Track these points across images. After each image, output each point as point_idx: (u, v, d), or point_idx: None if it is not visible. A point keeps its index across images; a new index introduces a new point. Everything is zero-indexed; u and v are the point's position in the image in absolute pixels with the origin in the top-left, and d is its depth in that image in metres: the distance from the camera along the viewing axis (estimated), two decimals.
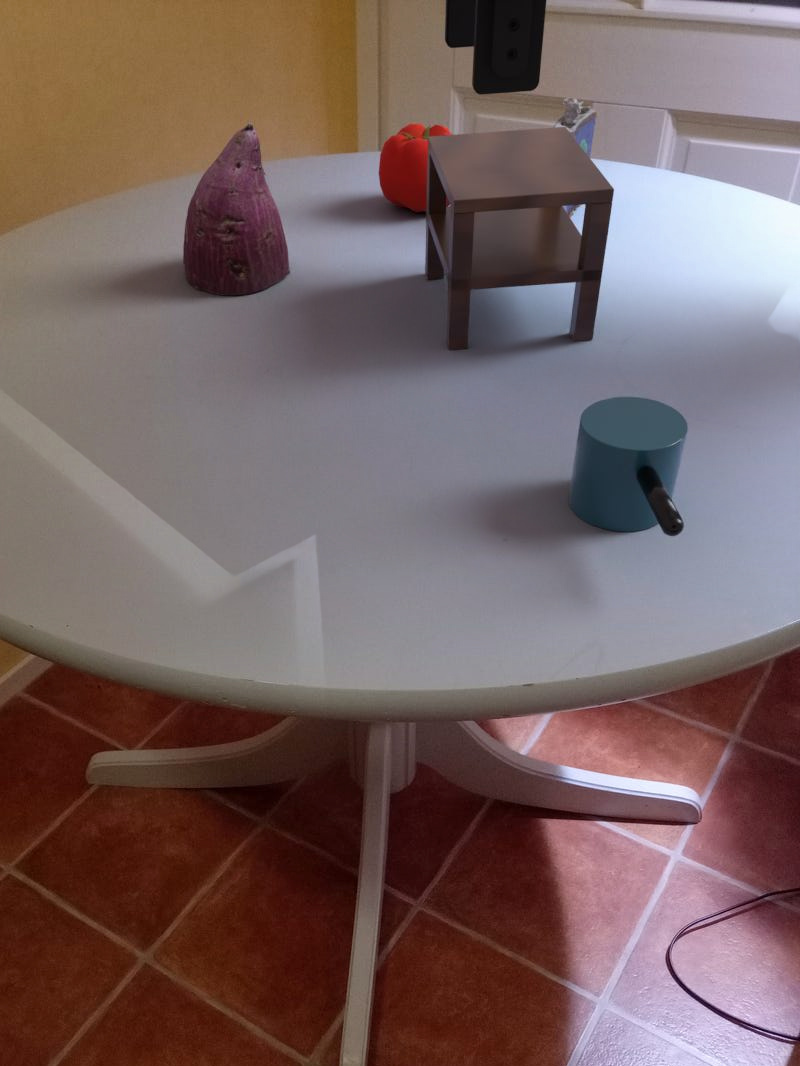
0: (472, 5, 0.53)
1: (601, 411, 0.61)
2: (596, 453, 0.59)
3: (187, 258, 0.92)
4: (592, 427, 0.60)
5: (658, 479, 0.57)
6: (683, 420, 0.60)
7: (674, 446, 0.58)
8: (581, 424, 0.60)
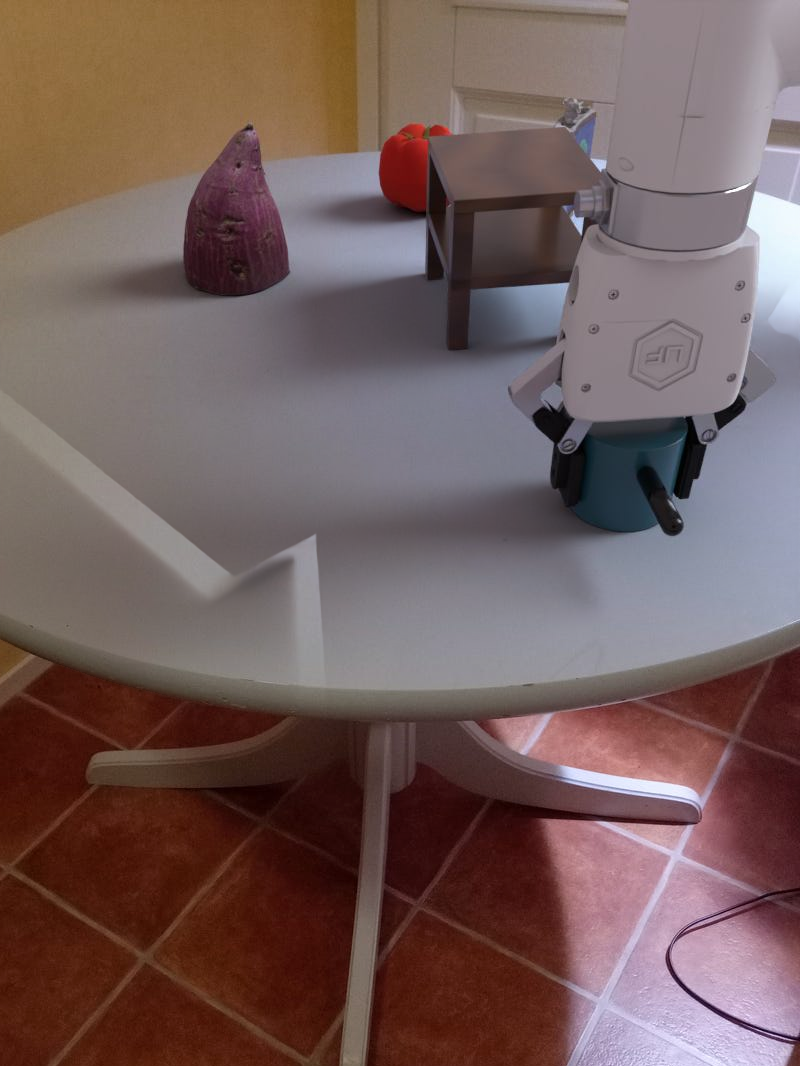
0: None
1: None
2: (596, 453, 0.59)
3: (187, 258, 0.92)
4: (592, 427, 0.60)
5: (658, 479, 0.57)
6: (683, 420, 0.60)
7: (674, 446, 0.58)
8: None
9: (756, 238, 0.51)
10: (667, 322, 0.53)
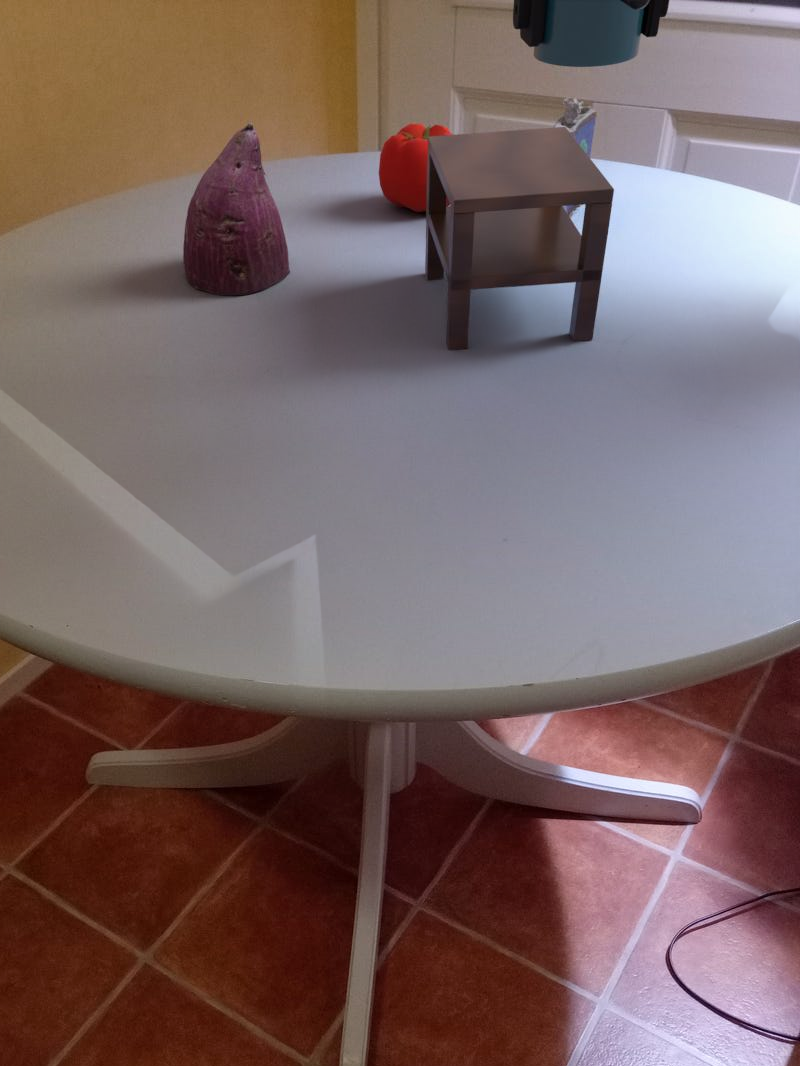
0: None
1: None
2: None
3: (187, 258, 0.92)
4: None
5: None
6: None
7: None
8: None
9: None
10: None
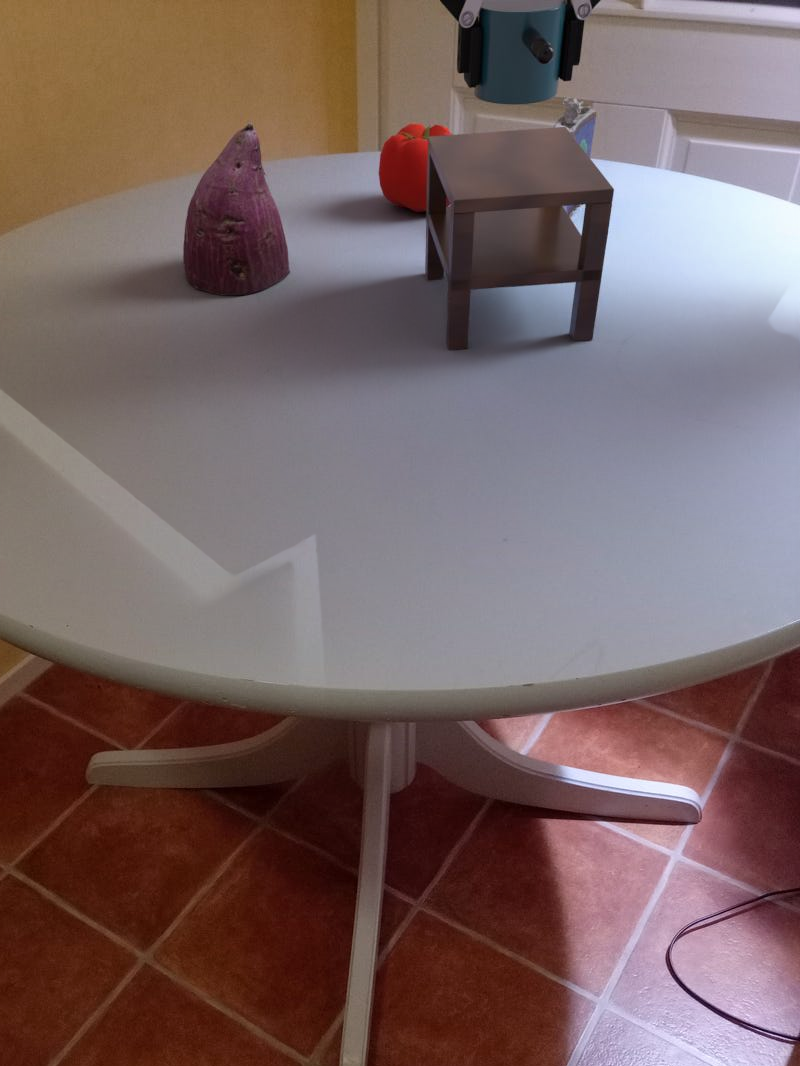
0: None
1: (497, 0, 0.73)
2: (490, 24, 0.71)
3: (187, 258, 0.92)
4: (487, 6, 0.72)
5: (538, 32, 0.69)
6: (563, 0, 0.72)
7: (553, 11, 0.70)
8: None
9: None
10: None
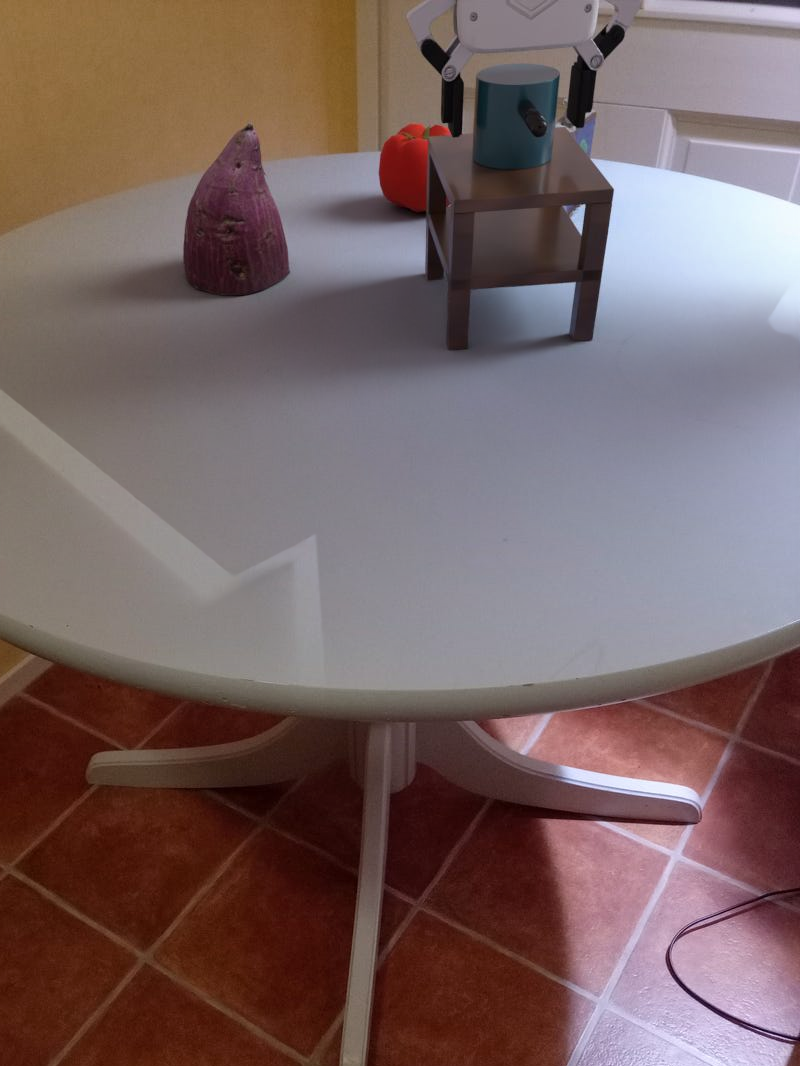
0: (572, 95, 0.77)
1: (493, 70, 0.76)
2: (487, 95, 0.75)
3: (187, 258, 0.92)
4: (484, 77, 0.75)
5: (532, 104, 0.72)
6: (557, 71, 0.75)
7: (547, 84, 0.73)
8: (476, 76, 0.75)
9: None
10: None
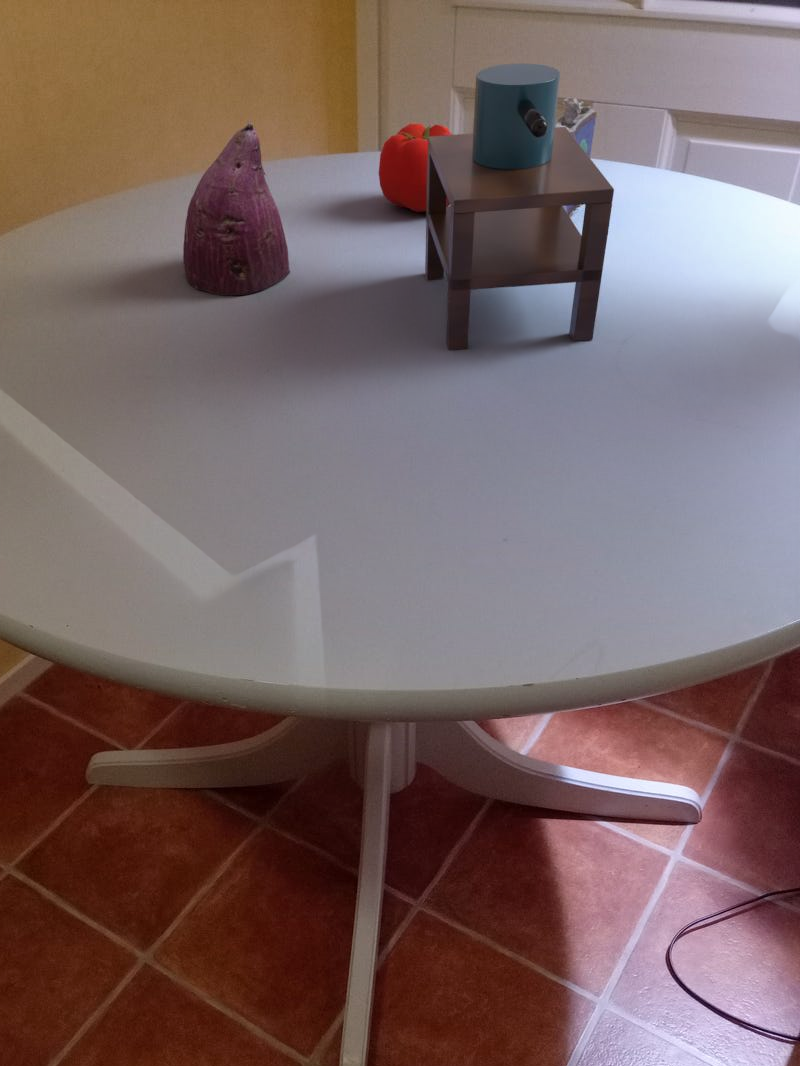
0: None
1: (493, 70, 0.76)
2: (487, 95, 0.75)
3: (187, 258, 0.92)
4: (484, 77, 0.75)
5: (532, 104, 0.72)
6: (557, 71, 0.75)
7: (547, 84, 0.73)
8: (476, 76, 0.75)
9: None
10: None
